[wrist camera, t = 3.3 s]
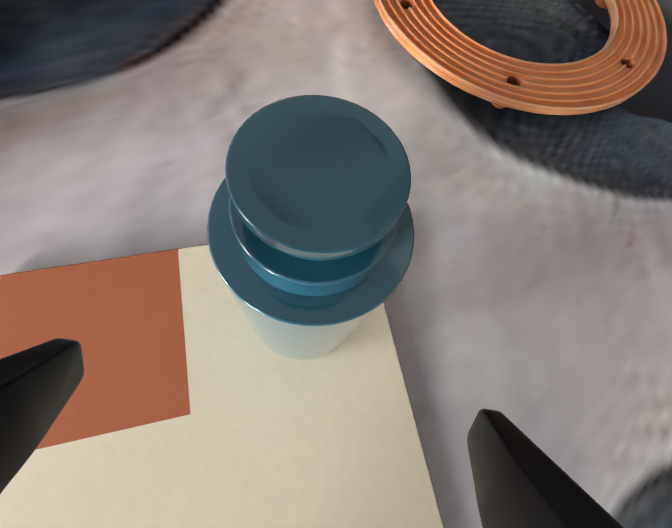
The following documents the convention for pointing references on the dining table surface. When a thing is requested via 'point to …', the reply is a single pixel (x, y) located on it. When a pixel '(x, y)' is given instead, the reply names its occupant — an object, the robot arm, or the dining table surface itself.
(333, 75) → the dining table surface
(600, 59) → the ring
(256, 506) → the mat
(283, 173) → the bottle with flat stopper
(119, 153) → the dining table surface
